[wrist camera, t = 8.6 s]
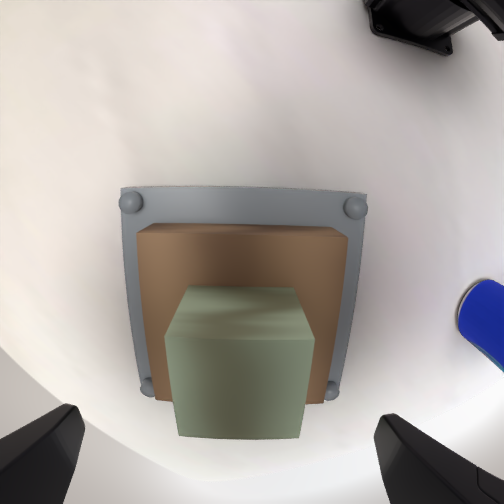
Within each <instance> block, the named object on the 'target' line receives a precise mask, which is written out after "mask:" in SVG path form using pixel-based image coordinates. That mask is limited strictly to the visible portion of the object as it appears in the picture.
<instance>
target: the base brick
mask: <svg viewBox="0 0 504 504" xmlns="http://www.w3.org/2000/svg"><path fill="white" fill-rule="evenodd" d="M136 239H137V257H138V271H139V284H140V295H141V305H142V314H143V322H144V330H145V338H146V345H147V352H148V359H149V365H150V371H151V377H152V383H153V389H154V394H155V399H156V400H162V401H171V402H173V399H172V392H171V385H170V378H169V371H168V363H167V355H166V347H165V338H164V336H165V334H166V332H167V330H168V327H169V325H170V323H171V321H172V319H173V317H174V315H175V313H176V310H177V308H178V306H179V304H180V302H181V300H182V298H183V296H184V294H185V292H186V290H187V287H188V285H198V286H236V287H294V290H295V292H296V295H297V297H298V299H299V302H300V304H301V307H302V309H303V311H304V314H305V316H306V319H307V321H308V323H309V326H310V328H311V331H312V333H313V336H314V338H315V343H314V350H313V357H312V364H311V371H310V378H309V384H308V390H307V396H306V402H305V404H319V403H323V402H324V398H325V393H326V388H327V383H328V378H329V373H330V368H331V362H332V357H333V351H334V345H335V339H336V333H337V327H338V320H339V313H340V306H341V299H342V291H343V284H344V275H345V267H346V257H347V247H348V237H347V236H345V235H343V234H342V233H340V232H339V231H337V230H336V229H334V228H332V227H319V226H291V225H258V224H211V223H153V224H151V225H149V226H147V227H146V228H144V229H142V230H140V231H139V232H137V233H136Z"/></svg>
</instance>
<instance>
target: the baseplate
mask: <svg viewBox="0 0 504 504" xmlns="http://www.w3.org/2000/svg"><path fill="white" fill-rule="evenodd" d="M366 198H367V194H363V193H355V192H342V191H327V190H311V189H292V188H268V187H230V186H161V187H126V188H121V197H120V199H119V207H120V209H121V222H122V242H123V257H124V269H125V280H126V290H127V299H128V308H129V315H130V323H131V330H132V337H133V343H134V349H135V355H136V361H137V366H138V372H139V377H140V382H141V387H140V390H141V392H142V393H143V394H144V395H145V396H147V397H154V396H155V394H154V389H153V383H152V377H151V371H150V365H149V359H148V352H147V345H146V338H145V330H144V322H143V314H142V305H141V295H140V284H139V271H138V257H137V239H136V233H137V232H139V231H140V230H142V229H144V228H146V227H147V226H149V225H151V224H153V223H211V224H258V225H291V226H319V227H332V228H334V229H336V230H337V231H339V232H340V233H342V234H343V235H345V236H347V237H348V247H347V257H346V267H345V275H344V284H343V291H342V299H341V306H340V313H339V320H338V327H337V333H336V339H335V345H334V351H333V357H332V362H331V368H330V373H329V378H328V383H327V388H326V393H325V398H324V400H327V401H331V400H334V399H336V398H337V397H338V395H339V385H340V381H341V376H342V371H343V367H344V362H345V357H346V352H347V347H348V341H349V336H350V330H351V325H352V319H353V312H354V306H355V300H356V293H357V286H358V278H359V271H360V263H361V254H362V245H363V235H364V224H365V215H366V214H367V211H368V206H367V203H366Z"/></svg>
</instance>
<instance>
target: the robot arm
mask: <svg viewBox="0 0 504 504" xmlns="http://www.w3.org/2000/svg"><path fill="white" fill-rule="evenodd" d="M364 1H365V4H366V6H367V7H368V9H369V18H370V27H371V30H372V32H373V33H375V34H376V35H379V36H383V37H387V38H391V39H395V40H398V41H402V42H405V43H409V44H412V45H415V46H418V47H421V48H424V49H427V50H430V51H433V52H436V53H439V54H442V55H444V56H449V55H451V54H452V53H453V49H452V43H451V37H450V36H451V35H452V34H454V33H456V32H458V31H460V30H461V29H463V28H465V27H467V26H469V25H471V24H473V23H474V22H476V21H478V20H480V21H481V22H482V23H483V24H484V25H485V26H486V27H487V28H488V29H489V30H490V31H491V32H492V35H493V36H494V37H495V38H496V39H497V40H498V41H503V40H504V0H364ZM376 26H378V27H380V29H381V30H379V29H378V28H377V27H376ZM445 48H446V49H447V51H446V49H445ZM84 432H85V424H84V421H83V419H82V416H81V414H80V411H79V409H78V407H77V406H75V405H71V404H67V403H65V404H63V405H61V406H59V407H57V408H56V409H54V410H52V411H50V412H49V413H47V414H45V415H43V416H41V417H40V418H38V419H36V420H34V421H32V422H31V423H29V424H27V425H25V426H23V427H22V428H20V429H18V430H16V431H14V432H12V433H11V434H9V435H7V436H5V437H3V438H1V439H0V504H63V502H64V499H65V496H66V493H67V490H68V488H69V485H70V482H71V479H72V476H73V473H74V471H75V467H76V464H77V460H78V456H79V452H80V447H81V444H82V440H83V436H84ZM374 442H375V446H376V450H377V455H378V460H379V465H380V470H381V475H382V479H383V482H384V486H385V489H386V492H387V495H388V498H389V501H390V504H504V480H501V479H499V478H498V477H496V476H494V475H492V474H490V473H488V472H486V471H485V470H483V469H482V468H480V467H477V466H476V465H475V464H473V463H471V462H470V461H468V460H466V459H465V458H463V457H461V456H460V455H458V454H457V453H455V452H454V451H452V450H450V449H449V448H447V447H445V446H444V445H442V444H441V443H439V442H438V441H436V440H435V439H433V438H432V437H430V436H428V435H427V434H425V433H424V432H422V431H421V430H419V429H418V428H416V427H415V426H413V425H412V424H410V423H409V422H407V421H406V420H404V419H403V418H401V417H400V416H398V415H397V414H394V413H392V414H386V415H382V416H381V418H380V420H379V423H378V425H377V428H376V430H375V433H374Z"/></svg>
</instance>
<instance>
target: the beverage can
mask: <svg viewBox="0 0 504 504" xmlns="http://www.w3.org/2000/svg"><path fill="white" fill-rule="evenodd" d="M458 327H459V331H460V333H461V335H462V336H463V337H464V338H466V339H467V340H468V341H469V342H470V343H471V344H473V345H474V346H475V347H476V348H477V349H478V350H479V351H481V352H482V353H483V354H484V355H485V356H486V357H487V358H488V359H490V360H491V361H492V362H493V363H494V364H495V365H496V366H497V367H498V368H499V369H501V370H502V371H503V372H504V286H503V285H501V284H499V283H497V282H495V281H494V280H484V281H482V282H480V283H477V284H476V285H474V286H473V287H472V288H471V289H470V290H469V291H468V292H467V293H466V295H465V296H464V298H463V300H462V302H461V305H460V307H459V311H458Z"/></svg>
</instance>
